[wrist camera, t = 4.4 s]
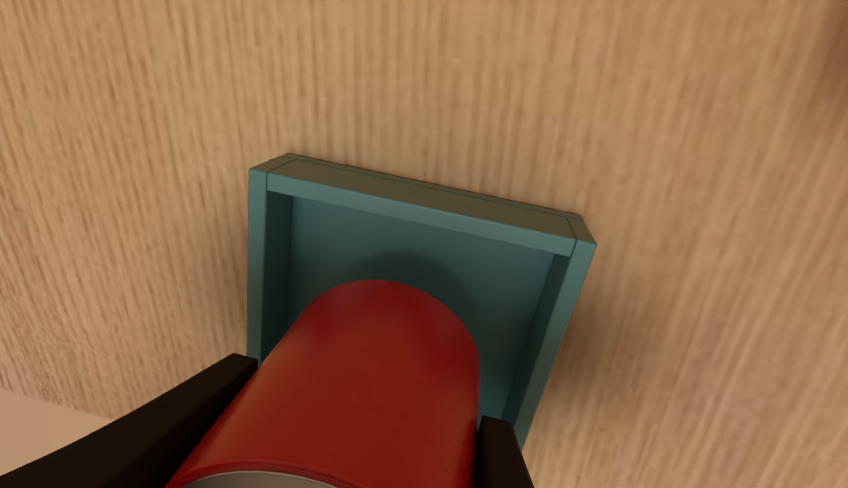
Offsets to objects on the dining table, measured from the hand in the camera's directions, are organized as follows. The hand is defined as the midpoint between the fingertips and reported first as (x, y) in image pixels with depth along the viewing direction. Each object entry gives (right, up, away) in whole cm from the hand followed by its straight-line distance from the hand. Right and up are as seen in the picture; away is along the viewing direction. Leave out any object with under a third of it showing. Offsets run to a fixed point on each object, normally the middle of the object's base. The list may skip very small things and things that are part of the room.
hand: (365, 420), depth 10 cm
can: (0, +1, +2) cm, 2 cm away
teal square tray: (+1, +2, +4) cm, 5 cm away
